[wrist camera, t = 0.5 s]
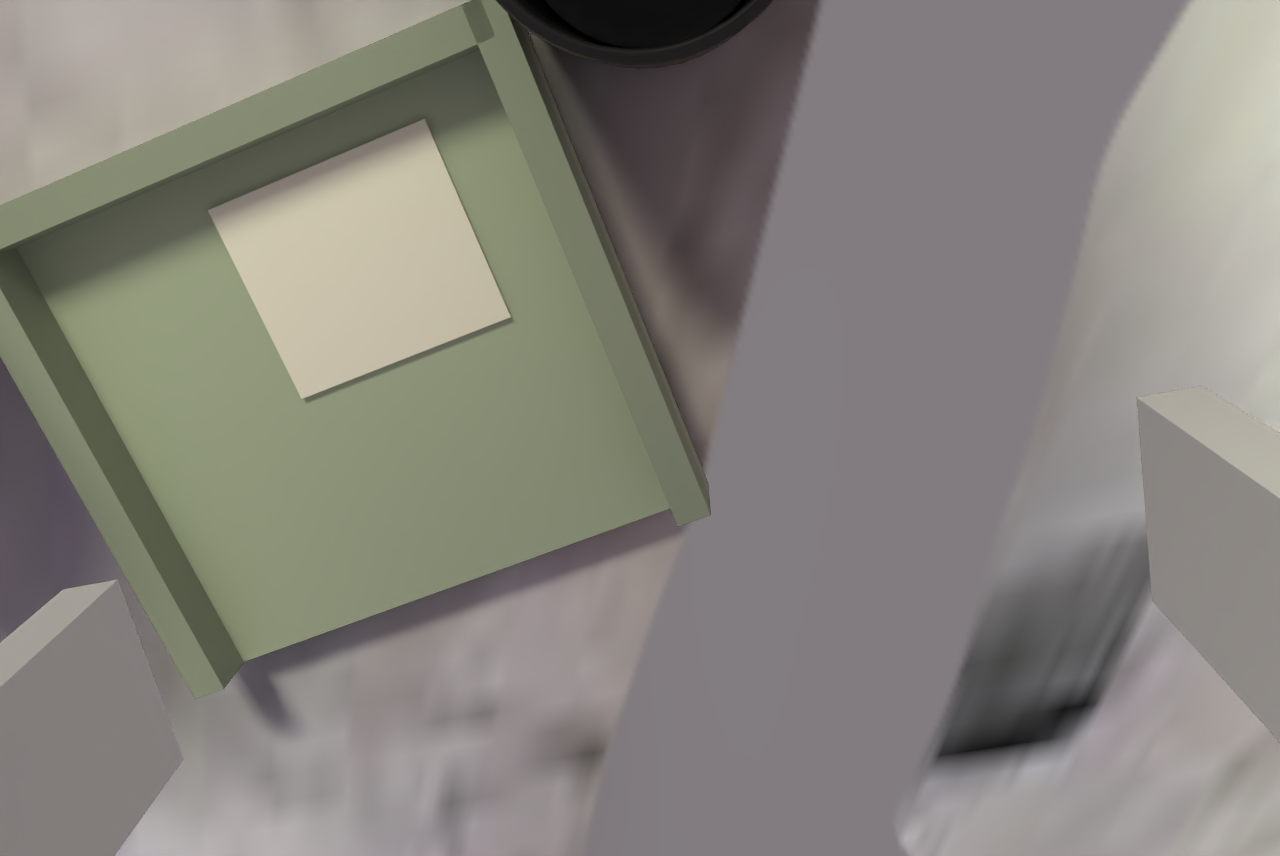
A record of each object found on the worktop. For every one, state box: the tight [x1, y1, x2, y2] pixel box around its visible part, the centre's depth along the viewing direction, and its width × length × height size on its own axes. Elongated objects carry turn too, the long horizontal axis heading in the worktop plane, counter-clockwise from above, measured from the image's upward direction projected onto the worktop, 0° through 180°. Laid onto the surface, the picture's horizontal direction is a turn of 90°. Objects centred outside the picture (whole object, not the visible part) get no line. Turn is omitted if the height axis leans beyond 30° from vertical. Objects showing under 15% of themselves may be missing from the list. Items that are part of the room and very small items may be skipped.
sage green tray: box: [0, 0, 711, 699], centre depth 39 cm, size 18×20×3 cm
